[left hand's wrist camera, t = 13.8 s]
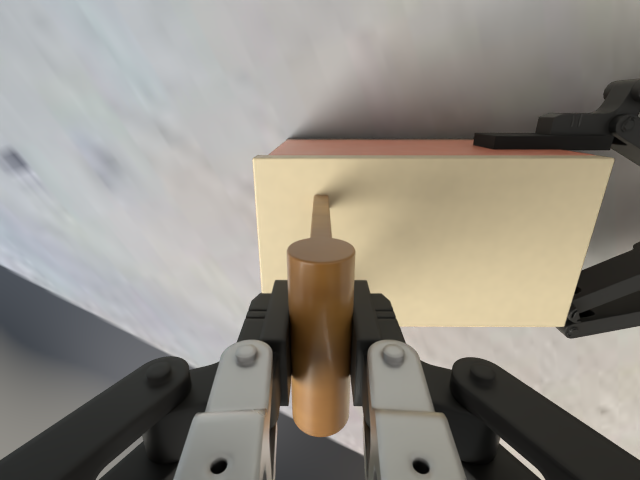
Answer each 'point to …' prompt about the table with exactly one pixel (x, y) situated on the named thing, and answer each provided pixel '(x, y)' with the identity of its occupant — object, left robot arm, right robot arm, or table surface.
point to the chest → (398, 147)
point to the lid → (417, 249)
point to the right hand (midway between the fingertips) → (470, 220)
